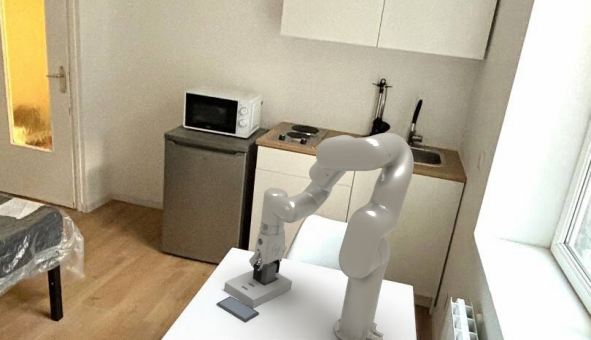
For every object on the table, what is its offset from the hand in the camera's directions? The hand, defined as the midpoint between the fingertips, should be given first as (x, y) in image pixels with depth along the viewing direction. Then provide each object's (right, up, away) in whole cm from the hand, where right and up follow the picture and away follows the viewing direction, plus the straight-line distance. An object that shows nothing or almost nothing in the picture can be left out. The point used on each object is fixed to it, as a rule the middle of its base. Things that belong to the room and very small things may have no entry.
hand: (265, 275), depth 159 cm
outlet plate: (-2, -4, -1) cm, 5 cm away
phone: (-8, -8, -13) cm, 17 cm away
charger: (0, -4, +1) cm, 4 cm away
